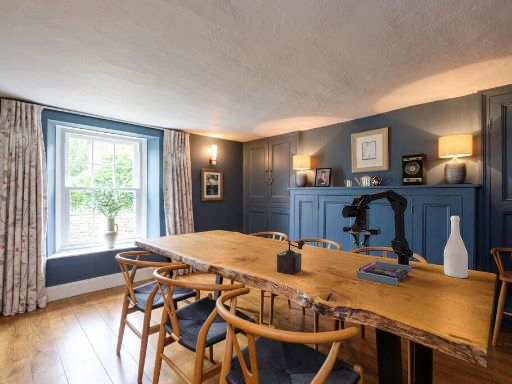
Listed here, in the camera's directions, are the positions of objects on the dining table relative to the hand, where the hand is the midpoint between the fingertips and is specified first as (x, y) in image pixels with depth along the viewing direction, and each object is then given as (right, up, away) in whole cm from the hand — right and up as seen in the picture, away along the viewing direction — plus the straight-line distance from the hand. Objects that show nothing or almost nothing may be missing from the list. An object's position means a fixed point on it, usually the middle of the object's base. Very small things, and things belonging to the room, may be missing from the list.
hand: (361, 246), depth 142 cm
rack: (+9, -13, -8) cm, 18 cm away
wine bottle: (+44, -13, -10) cm, 47 cm away
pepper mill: (-37, -13, -3) cm, 40 cm away
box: (+8, -14, -7) cm, 18 cm away
